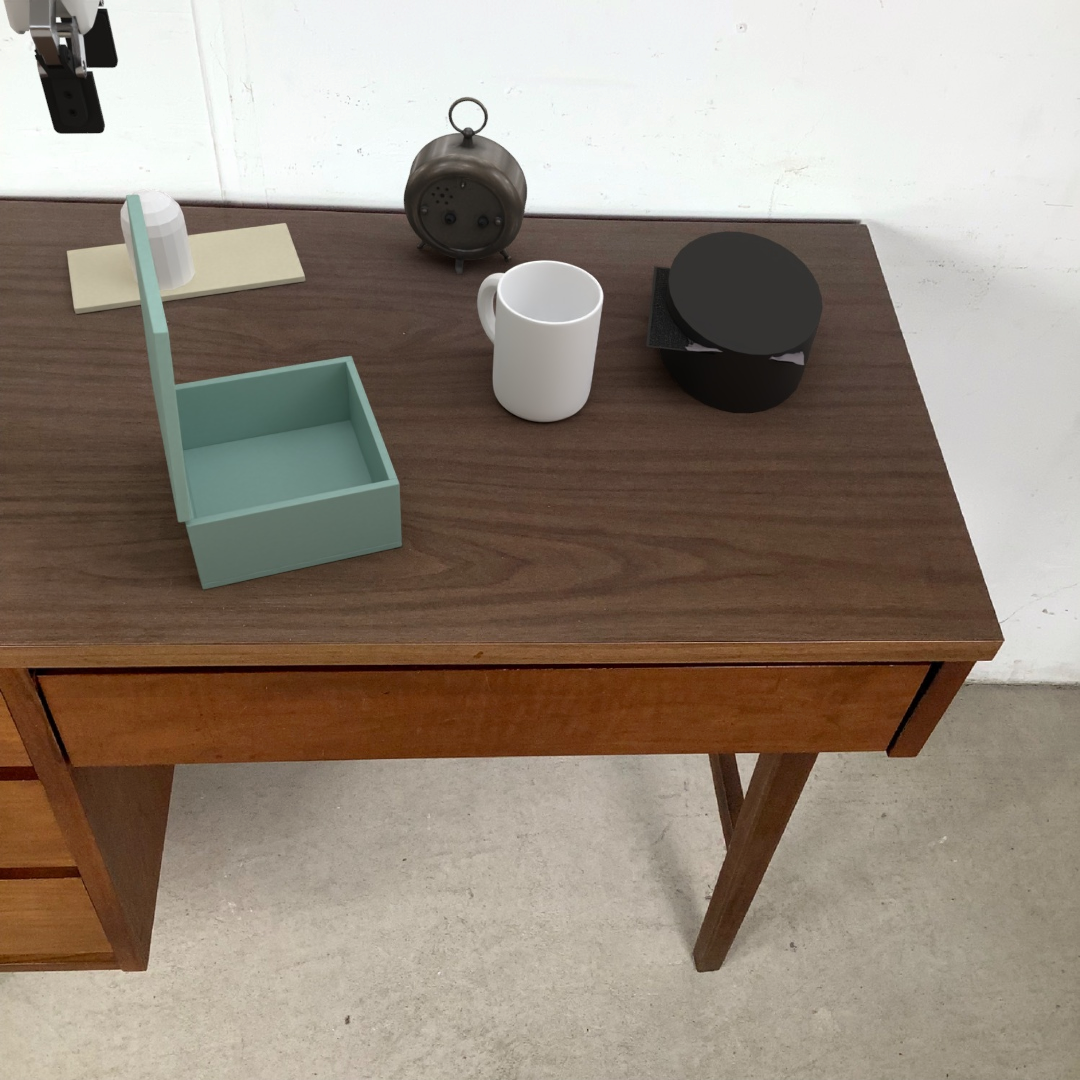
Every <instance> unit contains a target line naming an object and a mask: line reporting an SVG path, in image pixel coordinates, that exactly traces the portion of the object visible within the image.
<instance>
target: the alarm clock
mask: <svg viewBox="0 0 1080 1080" xmlns="http://www.w3.org/2000/svg"><path fill="white" fill-rule="evenodd" d="M464 102H471V103H474V104H476V105H477V106H478V107H480V109H481V110H482V112H483V115H484V117H483V118H484V120H483V123H482V124H481V126H480V127H479V128H478V129H477V130H474V129H473V128H472V127H470V126H469V127H468V126H467V127H465V128H463V129H461V128H459V127H458V126H457V125H456V124H455V122H454V119H453V111H454V109H455V107H456V106H457V105H459V104H460V103H464ZM447 114H448V120H449V123H450V125H451V126H452V128H453V130H455V131H456V132H455V133H449V134H444V135H441V136H438V137H436V138H434V139H432V140H431V141H429V142H428V143H426V144H425V145H424V146H423V147H422V148H421V149H420V150H419V151H418V152H417V154H416V155H415V157H414V159H413V161H412V163H411V166H410V170H409V175H408V178H407V180H406V184H405V187H404V192H403V208H404V209H403V210H404V214H405V217H406V219H407V221H408V223H409V226H410V227H411V229H412V231H413V232H414V233H415V235H416V236H417V237H418V238H419V239H420V240H421V242H418V243H417V245H416V248H417V249H418V250H422V249H424V247H425V246H428V247H429V248H431V249H433V250H434V251H436V252H437V253H439V254H442V255H444V256H447V257H450V258H453V259H455V266H454V268H455V269H454V270H455V273H456V274H457V275H461V274H462V273H463V270H464V261H472V260H481V259H486V258H489V257H492V256H495V255H497V254H500V255H502V256H503V257H504V261H505V262H507V263H509V262H511V261H512V256H511V255H510V254H508V251H507V248H508V247H509V246H510V245H511V244H512V243H513V242H514V241H515V239H516V238H517V236H518V234H519V233H520V230H521V227H522V225H523V220H524V217H525V210H526V205H527V200H528V184H527V180H526V176H525V172H524V170H523V169H522V167H521V165H520V164H519V161H518V160H517V159H516V158H515V157H514V156H513V155H512V153H511V152H510V151H509V150H508V149H506V148H505V147H504V146H503V145H501V144H500V143H498V142H496V141H495V140H493V139H491V138H489V137H486V136H483V135H480V134H479V133H481V132H482V131H483V130H484V129H485V127H486V126H487V124H488V120H489V114H488V110H487V108H486V106H485V105H484V104H483V103H482V102H481V101H480V100H478V99H477V98H475V97H472V96H471V97H470V96H464V97H460V98H458V99H456V100H455V101H454V102H453V103H452V104H451V105H450V107H449V109H448V113H447Z"/></svg>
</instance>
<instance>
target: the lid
mask: <svg viewBox="0 0 1080 1080" xmlns="http://www.w3.org/2000/svg"><path fill="white" fill-rule="evenodd" d="M125 201H127V208H128V215H129V222H130V230H131V237H132V244H133V251H134V258H135V265H136V273H137V280H138V287H139V294H140V301H141V305H140V307H141V315H142V322H143V330H144V336H145V345H146V351H147V358H148V364H149V365H148V366H149V372H150V379H151V385H152V390H153V396H154V401H155V406H156V407H155V408H156V412H157V417H158V423H159V429H160V433H161V438H162V443H163V449H164V454H165V458H166V459H165V460H166V464H167V470H168V476H169V481H170V487H171V490H172V491H171V492H172V497H173V502H174V508H175V512H176V519H177V522H178V523H185V521H190V520H191V516H190V507H189V499H188V491H187V482H186V474H185V466H184V457H183V449H182V441H181V432H180V424H179V416H178V407H177V399H176V391H175V385H176V383H175V375H174V367H173V366H174V365H173V359H172V357H173V356H172V350H171V341H170V333H169V332H170V331H169V328H168V324H167V318H166V314H165V309H164V304H163V302H162V299H161V295H160V290H159V285H158V281H157V276H156V271H155V266H154V262H153V257H152V252H151V248H150V243H149V238H148V234H147V229H146V224H145V220H144V215H143V210H142V205H141V201H140V196H139V195H132V194H126V195H125Z"/></svg>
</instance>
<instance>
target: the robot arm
mask: <svg viewBox="0 0 1080 1080" xmlns="http://www.w3.org/2000/svg"><path fill="white" fill-rule="evenodd" d="M3 4H4V9H5V12H6V16H7V19H8V24H9V26H10V28H11V29H12V30H13V31H14V32H15V33H16V34H18V35H25V33H26V32H29V33H30V36H31V39H32V41H33V44H34V48H35V49H34V50H33V51H34V53H35V54H34V59H35V60H36V66H37V72H38V76H39V79H40V83H41V88H42V90H43V94H44V98H45V101H46V105H47V109H48V113H49V116H50V121H51V123H52V127H53V130H54V131H55V132H56V133H57V134H59V135H61V134H62V135H66V134H67V135H69V134H71V135H73V134H74V135H76V134H77V135H79V134H81V135H82V134H85V135H86V134H89V135H90V134H93V135H94V134H102V133H104V131H105V128H106V124H105V123H106V122H105V119H104V115H103V114H104V113H103V110H102V106H101V101H100V98H99V97H100V96H99V93H98V89H97V85H96V81H95V77H94V71H93V70H88V68H89V69H114V68H116V67H117V66H118V64H119V63H118V62H119V58H118V53H117V49H116V44H115V43H116V42H115V40H114V35H113V29H112V24H111V20H110V16H109V12H108V8H106V7H105V0H3ZM104 7H105V8H104ZM57 18H59V19H60V21H57ZM61 38H64V40H65V44H64V43H63V44H62V43H61Z"/></svg>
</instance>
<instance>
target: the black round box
mask: <svg viewBox="0 0 1080 1080" xmlns="http://www.w3.org/2000/svg"><path fill="white" fill-rule="evenodd" d="M652 275H653V277H652V284H651V295H650V303H649V314H648V323H647V326H648V327H647V334H646V346H645V347H646V348H647V347H648V348H656V349H658V353H659V355H660V358H661V361H662V364H663V366H664V367H665V369H666V370H667V372H668V374H669V376H670V377H671V378H672V380H673V381H674V382H675V383H676V384H677V385H678V386H679V387H680V389H682V390H683V391H684V392H686V393H687V394H688V395H689V396H690V397H692V398H693V399H695V400H697V401H699V402H701V403H703V404H704V405H706V406H709V407H712V408H715V409H718V410H720V411H725V412H730V413H736V414H747V413H748V414H753V413H757V412H764V411H767V410H769V409H772V408H775V407H777V406H779V405H780V404H782V403H783V402H784V401H787V399H789V398H790V397H791V395H793V393H794V392H795V391H796V390H797V388H798V387H799V385H800V382H801V380H802V378H803V376H804V372H805V369H806V366H807V363H808V360H809V356H810V354H811V350H812V347H813V343H814V340H815V338H816V334H817V331H818V328H819V325H820V322H821V318H822V314H823V313H822V312H823V297H822V294H821V293H822V292H821V289H820V286H819V283H818V282H817V280H816V278H815V276H814V274H813V273H812V271H811V270H810V269H809V268H808V267H807V265H806V264H805V262H803V261H802V260H801V259H800V257H798V256H797V255H796V254H795V253H794V252H792V251H791V250H789V249H788V248H786V247H784V246H783V245H782V244H779V243H778V242H775V240H774V241H773V240H771V239H769V238H767V237H764V236H761V235H757V234H754V233H749V232H743V231H729V230H726V231H718V232H717V231H716V232H711V233H708V234H705V235H702V236H699V237H697V238H695V239H693V240H691V241H689V242H688V243H687V244H686V245H684V246H683V247H682V248H681V249H680V250H679V251H678V253H677V254H676V255H675V257H674V259H673V261H672V263H671V265H670V267H665V266H656V265H653V274H652Z"/></svg>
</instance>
